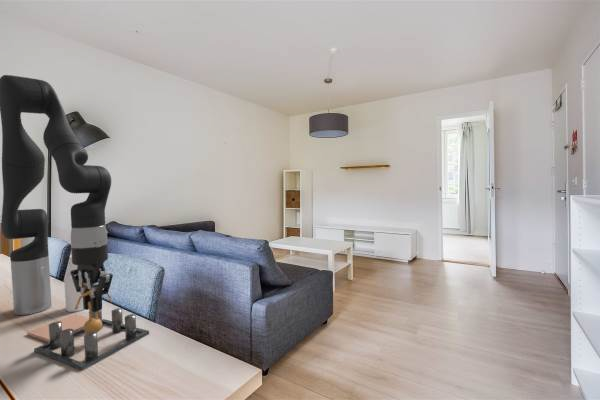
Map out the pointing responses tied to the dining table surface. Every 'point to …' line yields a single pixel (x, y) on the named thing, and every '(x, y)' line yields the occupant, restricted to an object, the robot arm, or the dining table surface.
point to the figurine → (92, 323)
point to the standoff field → (89, 340)
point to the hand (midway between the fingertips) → (93, 309)
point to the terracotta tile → (67, 323)
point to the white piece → (72, 291)
